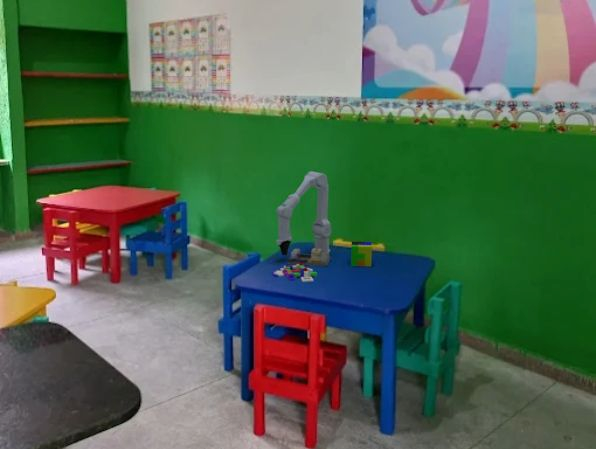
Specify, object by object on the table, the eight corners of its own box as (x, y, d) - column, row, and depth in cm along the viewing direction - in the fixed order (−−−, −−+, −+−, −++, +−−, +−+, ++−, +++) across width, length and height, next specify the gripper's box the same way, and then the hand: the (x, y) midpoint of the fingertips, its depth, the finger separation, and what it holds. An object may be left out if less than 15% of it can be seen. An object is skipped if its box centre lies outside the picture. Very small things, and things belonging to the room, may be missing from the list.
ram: (294, 255, 319) (294, 248, 319) (300, 256, 319) (300, 248, 318) (291, 260, 312) (291, 252, 311) (296, 260, 311) (296, 253, 310)
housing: (312, 258, 316) (312, 248, 314) (321, 258, 315) (321, 248, 314) (311, 260, 311) (311, 250, 310) (320, 261, 310) (320, 251, 309)
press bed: (292, 257, 322) (292, 247, 321) (330, 259, 318) (330, 249, 316) (287, 264, 311) (287, 253, 309) (326, 266, 306) (326, 256, 305)
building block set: (269, 268, 306) (269, 259, 305) (310, 266, 309) (310, 257, 308) (275, 284, 282) (275, 274, 281) (319, 282, 285) (319, 272, 284)
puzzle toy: (370, 260, 317) (371, 241, 314) (371, 266, 307) (371, 247, 305) (351, 260, 318) (351, 241, 315) (351, 265, 308) (351, 246, 306)
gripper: (285, 233, 305) (285, 259, 308) (297, 226, 318) (297, 252, 321) (272, 231, 308) (272, 258, 311) (284, 225, 321) (285, 250, 324)
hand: (284, 255), depth 316 cm, fingers closed
